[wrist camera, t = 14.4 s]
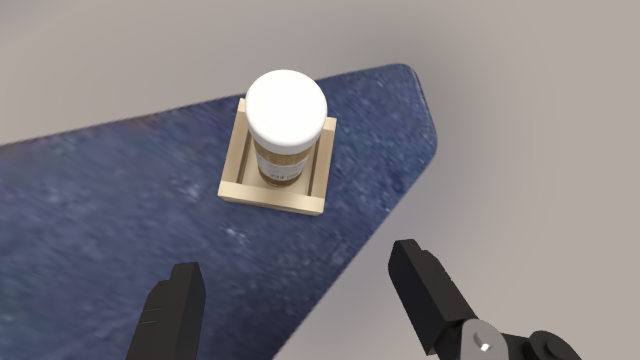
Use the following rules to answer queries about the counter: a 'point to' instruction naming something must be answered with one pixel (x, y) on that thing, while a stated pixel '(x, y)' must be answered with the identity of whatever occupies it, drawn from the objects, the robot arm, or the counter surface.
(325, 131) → the socket block
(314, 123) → the sprinkles bottle
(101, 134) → the counter surface
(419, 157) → the counter surface
